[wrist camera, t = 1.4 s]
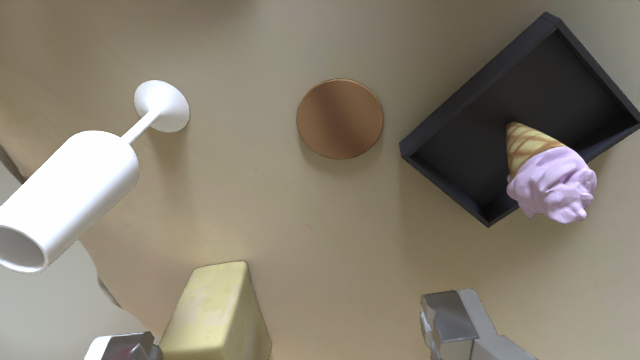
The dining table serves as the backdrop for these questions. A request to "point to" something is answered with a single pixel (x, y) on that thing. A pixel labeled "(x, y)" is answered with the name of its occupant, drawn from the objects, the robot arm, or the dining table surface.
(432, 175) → the tray
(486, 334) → the robot arm
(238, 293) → the cheese
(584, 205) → the ice cream cone
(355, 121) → the coaster
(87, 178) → the champagne flute
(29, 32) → the dining table surface
